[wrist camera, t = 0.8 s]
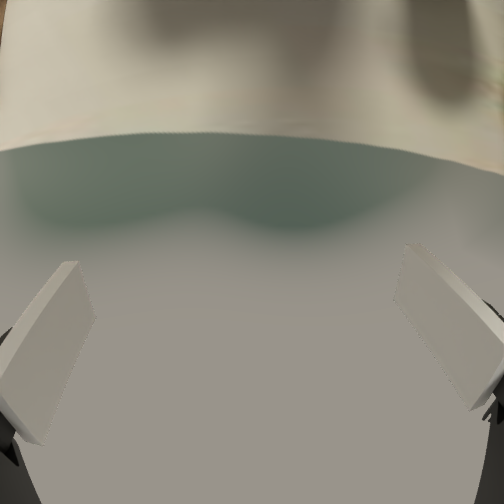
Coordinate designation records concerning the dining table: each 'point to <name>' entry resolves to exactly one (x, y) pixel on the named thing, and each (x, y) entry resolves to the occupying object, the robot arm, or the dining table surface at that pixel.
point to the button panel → (2, 15)
